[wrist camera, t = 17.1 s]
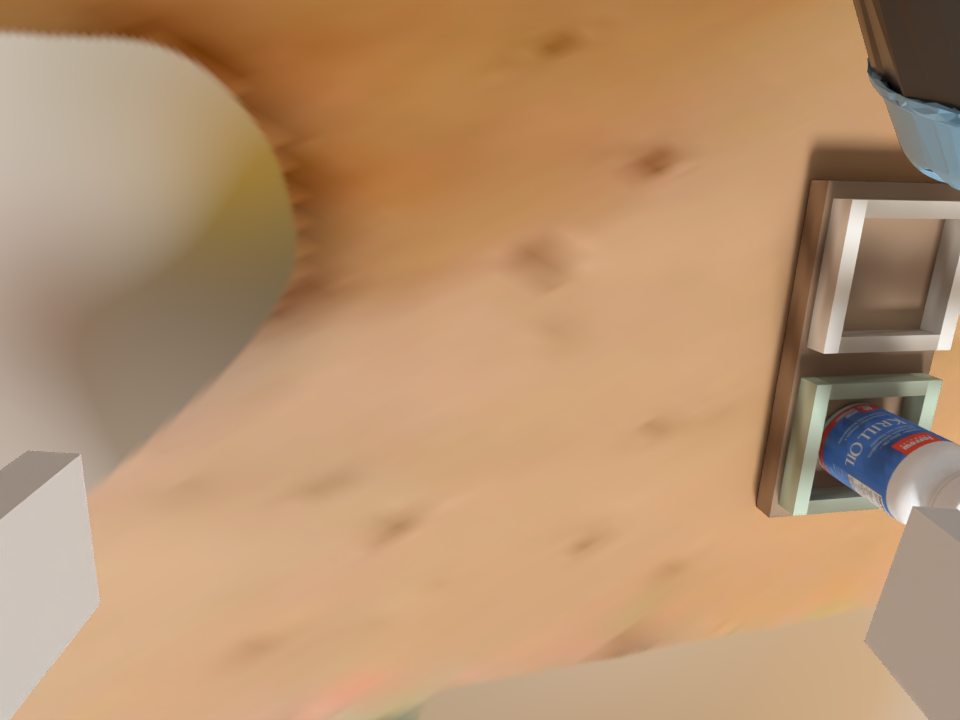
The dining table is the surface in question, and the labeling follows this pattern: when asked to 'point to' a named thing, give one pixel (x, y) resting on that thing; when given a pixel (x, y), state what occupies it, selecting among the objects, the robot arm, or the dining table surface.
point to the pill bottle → (890, 460)
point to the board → (860, 327)
